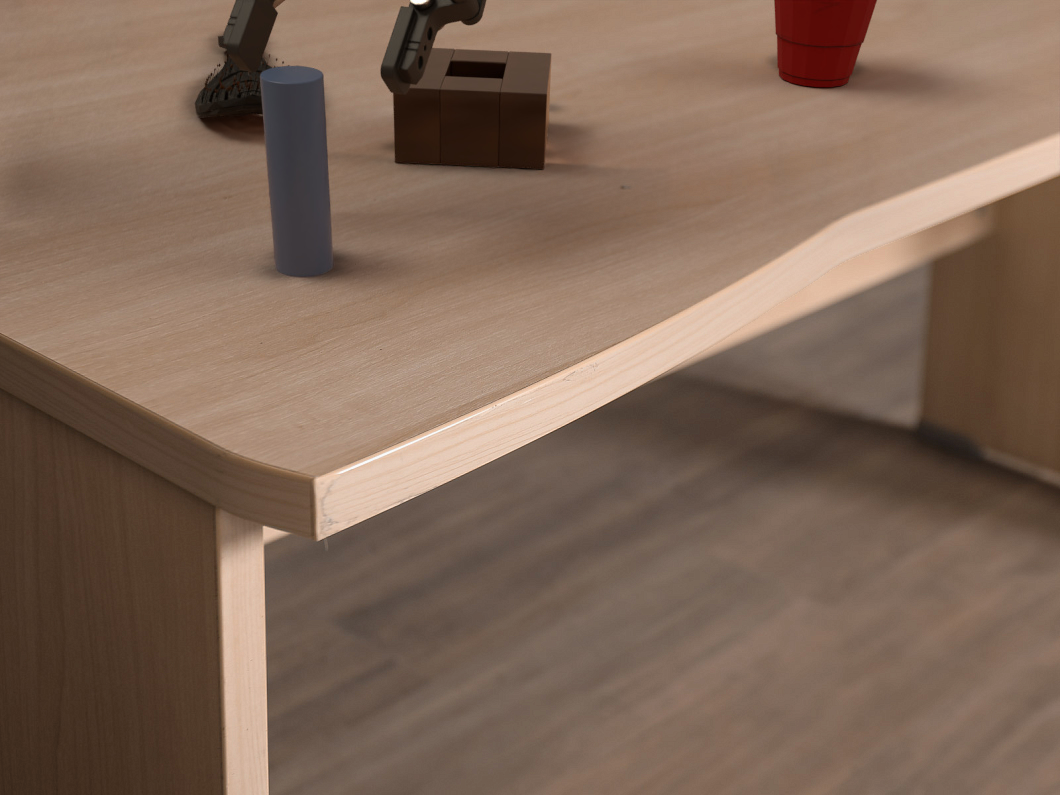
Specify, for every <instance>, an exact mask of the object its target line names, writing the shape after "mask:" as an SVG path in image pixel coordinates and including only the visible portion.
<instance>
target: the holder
mask: <svg viewBox="0 0 1060 795" xmlns="http://www.w3.org/2000/svg"><path fill="white" fill-rule="evenodd" d="M551 75H552V53H551V52H536V51H535V52H533V51H532V52H531V51H512V50H510V51H508V50H489V49H488V50H487V49H465V48H462V49H461V48H456V49H455V48H446V47H444V48H443V47H432V50H431V53H430V56H429V58H428V62H427V65H426V68H425V71H424V74H423V77H422V78H421V79H420V81H419V82H418V83H417V84H416V85H414V84H411V85H410V88H409V91H408V93H407V94H406V95H404V94H397V93H392V102H393V105H392V106H393V144H394V145H393V146H394V149H393V150H394V163H398V164H399V163H400V164H401V163H403V164H404V163H405V164H420V165H421V164H422V165H424V164H425V165H443V166H444V165H445V166H465V167H466V166H467V167H485V168H486V167H487V168H488V167H489V168H510V169H532V170H544V169H545V164H546V154H547V153H546V152H547V145H548V144H547V143H548V133H549V122H550V102H551V98H550V97H551V79H552V78H551V77H552V76H551Z"/></svg>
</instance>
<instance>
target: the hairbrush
mask: <svg viewBox="0 0 1060 795" xmlns="http://www.w3.org/2000/svg"><path fill="white" fill-rule="evenodd" d="M217 45H218V47H219V48H223V49H224V50H227V47H226V46H225V45H224V43H223V35H218V36H217ZM270 58H271V54H270V53H269V54H268V59H270ZM278 59H279V58H277V57H276V58H275V61H276V62H277V61H278ZM223 62H224V64H223V66H222V68H221V63H216V68H214V69H213V72H210V74H208V75H207V78H206V79H205V82H204V87H203V88H202V89H201V90H200V91H199V94H198V95H197V97H196V99H195V101H194V106H195V107H194V108H195V114H196V115H197V117H199V118H200V119H201V118H203V119H204V118H217V117H218V118H219V117H233V116H249V115H250V116H251V115H263V109H262V96H261V84H260V74H261V73H262V72H263V71H265V70H267V69H270V68H275V67H276V66H275V65H274V66H273V67H272V66H270V65H269V61H266V60H265V59H264V58H263V57H262V59H261V62H260V65H259V68H258V70H257V71H256V72H250V71H244V70H240V69H239V67H238V66H237V65H236V64H235V63H234V61H233V60H232V59H231V58H230V57H229V56H227V57H226V60H224V61H223ZM281 62H282V65H283V64H285V61H284V60H283V61H281ZM287 66H291V65H290V64H288V65H287ZM219 68H221V70H219Z"/></svg>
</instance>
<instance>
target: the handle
mask: <svg viewBox="0 0 1060 795" xmlns="http://www.w3.org/2000/svg"><path fill="white" fill-rule="evenodd" d="M324 78H325V77H324V73H323V71H321V70H320V69H318V68H315V67H311V66H304V65H290V66H288V65H284V66H283V65H281V66H275V68H274V67H272V68H270V69H267V70H265V71H263V72H262V73H261V74H260V84H261V96H262V109H263V114H262V119H263V122H262V123H263V131H264V132H263V133H264V145H265V157H266V170H267V182H268V196H269V197H268V198H269V208H270V209H269V210H270V219H271V220H270V221H271V232H272V244H273V246H272V247H273V258H274V259H273V260H274V268H275V270H276V271H277V272H278V273H279V274H281V275H284V276H287V277H293V278H310V277H311V278H312V277H316V276H321V275H323V274H326V273H328V272H329V271H331V270H332V269H333V268H334V250H333V249H334V247H333V228H332V210H331V209H332V208H331V192H330V172H329V171H330V170H329V153H328V152H329V151H328V136H327V117H326V99H325V98H326V97H325V96H326V95H325V80H324Z"/></svg>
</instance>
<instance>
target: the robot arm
mask: <svg viewBox="0 0 1060 795" xmlns="http://www.w3.org/2000/svg"><path fill="white" fill-rule="evenodd" d="M284 2H286V0H235V1H234V4H233V7H232V10H231V12H230V15H229V18H228V20H227V22H226V23H227V24H226V26H225V28H224V31H223V34H222V36H223V43H224V45H225V46H226V47H227V49H226V52H227V55H228V57H230V58H231V59H232V60H233V61H234V63H235V64H236V65H237V66H238V67H239V69H240V70H244V71H250V72H256V71H257V70H258V68H259V65H260V62H261V59H262V58H263V57H264V54H265V51H266V48H267V45H268V42H269V40H270V37H271V34H272V32H273V29H274V25H275V23H276V20H277V17H278V15H279V12H278V11H277V9H276V8H277V7H279V6H280V5H281V4H282V3H284ZM486 4H487V0H409V4H408V6H404V5H401V6H400V8H399V11H398V14H397V17H396V20H395V23H394V26H393V28H392V32H391V35H390V38H389V41H388V42H387V47H386V50H385V52H384V56H383V59H382V62H381V65H380V77H381V78H380V79H381V80H382V81H383V83H384V84H385V86H386V88H387V89H388V90H389V92H390V93H391V94H393V93H397V94H404V95H406V94H407V93H408V91H409V88H410V85H411V84H414V85H416V84H417V83H418V82H419V81H420V79H421V78H422V77H423V74H424V71H425V68H426V65H427V62H428V58H429V56H430V53H431V50H432V48H434V47H433V46H434V43H435V41H436V37H437V35H438V33H439V31H441V30H442V29H444V28H445V26H446V25H448V24H453V23H457V22H461V23H462V24H463V25H465V26H474V25H476V24H479V22H481V20H482V18H483V16H484V12H485V7H486Z"/></svg>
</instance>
